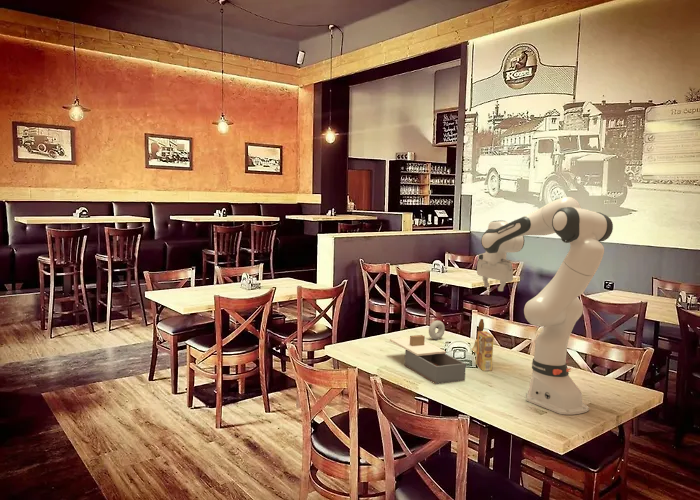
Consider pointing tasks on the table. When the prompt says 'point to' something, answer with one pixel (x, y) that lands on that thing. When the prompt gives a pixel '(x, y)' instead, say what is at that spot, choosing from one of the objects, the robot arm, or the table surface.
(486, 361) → the candy box
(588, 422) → the table surface
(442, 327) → the donut
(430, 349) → the lid
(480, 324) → the hand bell
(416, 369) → the storage box
